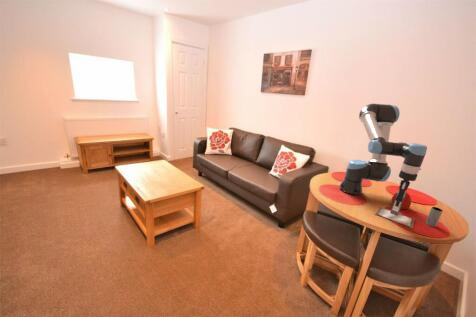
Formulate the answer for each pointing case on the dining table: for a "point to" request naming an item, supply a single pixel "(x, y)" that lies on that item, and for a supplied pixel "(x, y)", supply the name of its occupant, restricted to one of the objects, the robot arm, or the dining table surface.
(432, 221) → the grey hollow cylinder
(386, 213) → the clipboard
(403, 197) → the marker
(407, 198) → the apple
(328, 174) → the dining table surface
